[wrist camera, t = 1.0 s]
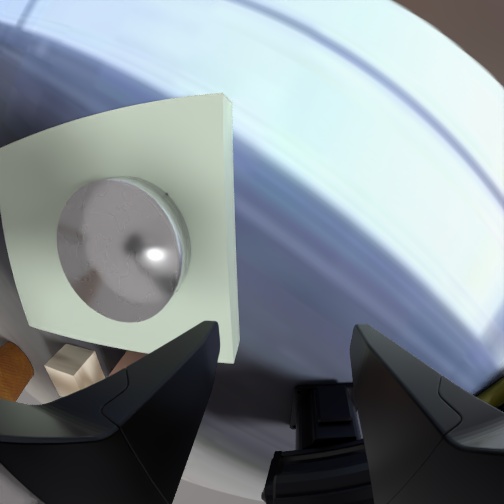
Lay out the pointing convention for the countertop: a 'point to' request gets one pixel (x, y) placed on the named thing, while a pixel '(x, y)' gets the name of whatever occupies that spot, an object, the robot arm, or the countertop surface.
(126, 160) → the pocket deck
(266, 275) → the countertop surface
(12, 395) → the disposable coffee cup
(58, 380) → the birch cube
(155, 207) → the metal puck
